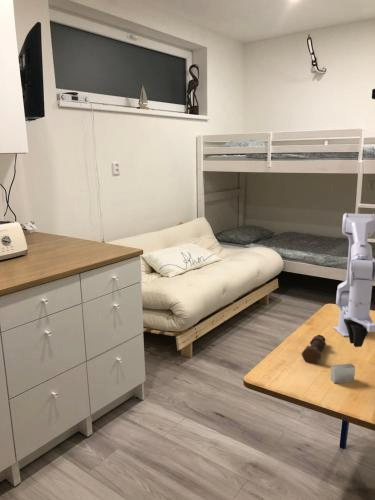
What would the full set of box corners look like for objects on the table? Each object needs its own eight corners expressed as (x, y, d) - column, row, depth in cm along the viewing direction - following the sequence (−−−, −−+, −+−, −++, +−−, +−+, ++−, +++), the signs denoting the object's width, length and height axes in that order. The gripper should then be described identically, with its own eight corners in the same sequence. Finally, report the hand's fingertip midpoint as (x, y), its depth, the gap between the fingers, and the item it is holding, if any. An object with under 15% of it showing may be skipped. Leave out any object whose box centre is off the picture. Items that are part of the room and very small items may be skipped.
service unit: (350, 377, 118) (351, 363, 116) (354, 381, 115) (355, 367, 114) (330, 379, 117) (331, 364, 116) (333, 383, 115) (335, 368, 114)
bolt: (322, 349, 139) (312, 368, 126) (309, 339, 140) (298, 357, 127) (332, 337, 136) (323, 355, 123) (319, 327, 138) (308, 344, 125)
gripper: (334, 293, 122) (331, 334, 126) (360, 311, 108) (356, 357, 112) (356, 291, 123) (352, 333, 127) (385, 309, 109) (380, 355, 113)
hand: (355, 344), depth 119 cm, fingers closed
